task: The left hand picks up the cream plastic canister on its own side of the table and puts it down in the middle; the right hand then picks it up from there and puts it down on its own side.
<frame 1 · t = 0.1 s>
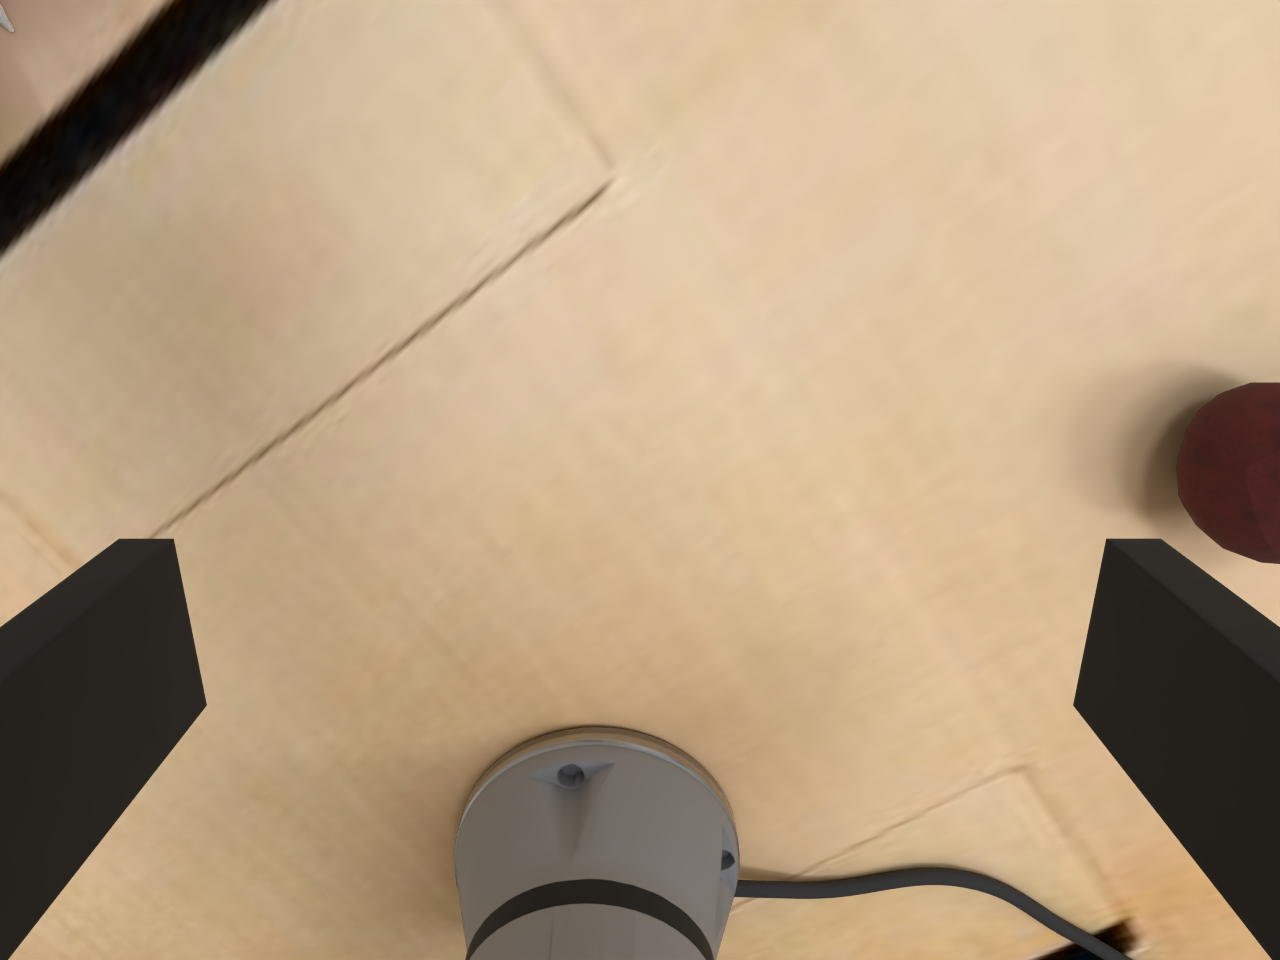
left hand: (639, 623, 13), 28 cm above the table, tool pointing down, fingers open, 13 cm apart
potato: (1221, 443, 41), on the table
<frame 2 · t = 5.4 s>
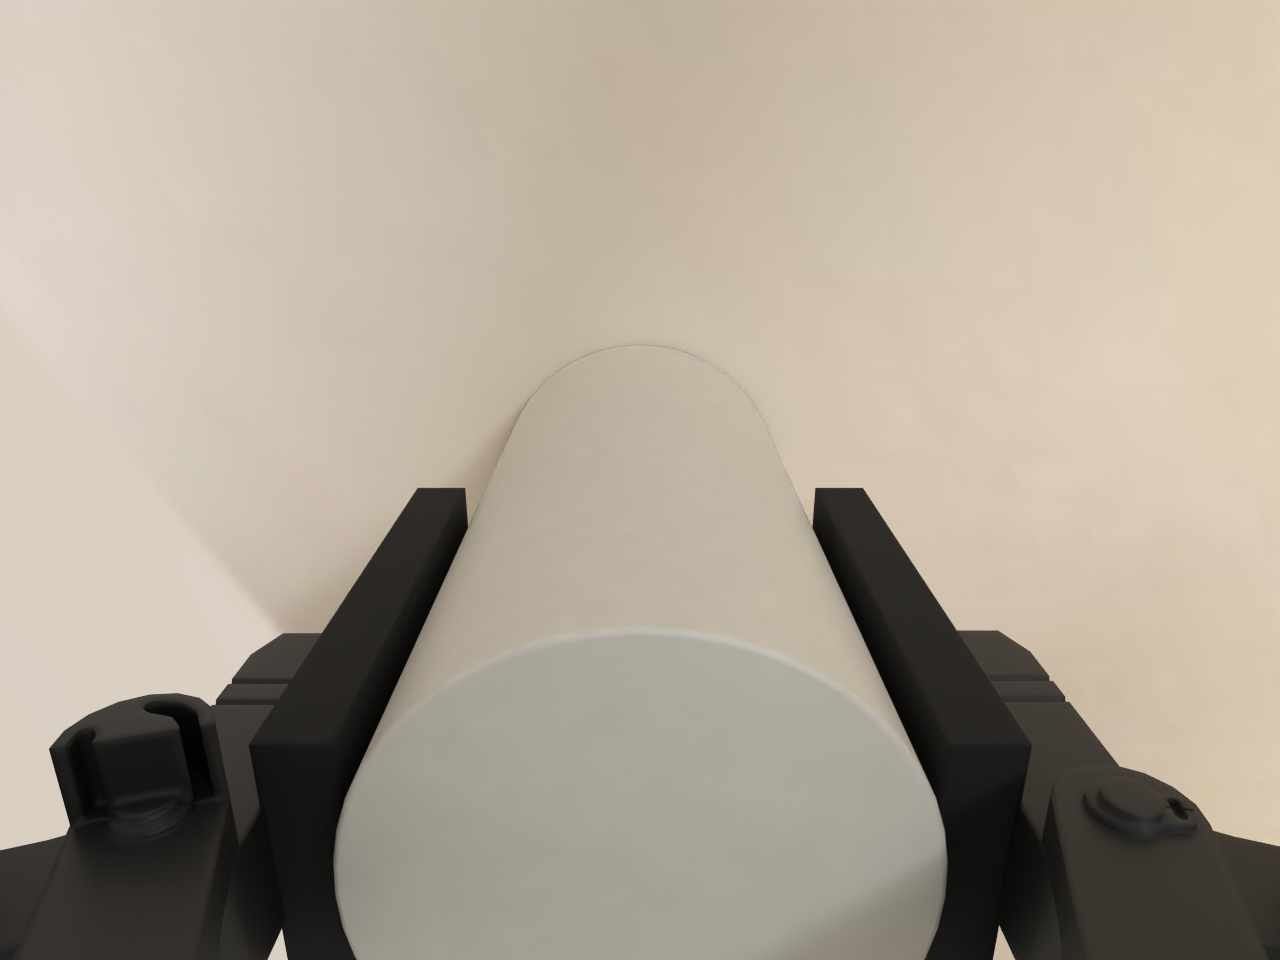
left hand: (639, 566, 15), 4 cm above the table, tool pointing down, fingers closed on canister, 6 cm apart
canister: (640, 477, 18), on the table, touching left hand
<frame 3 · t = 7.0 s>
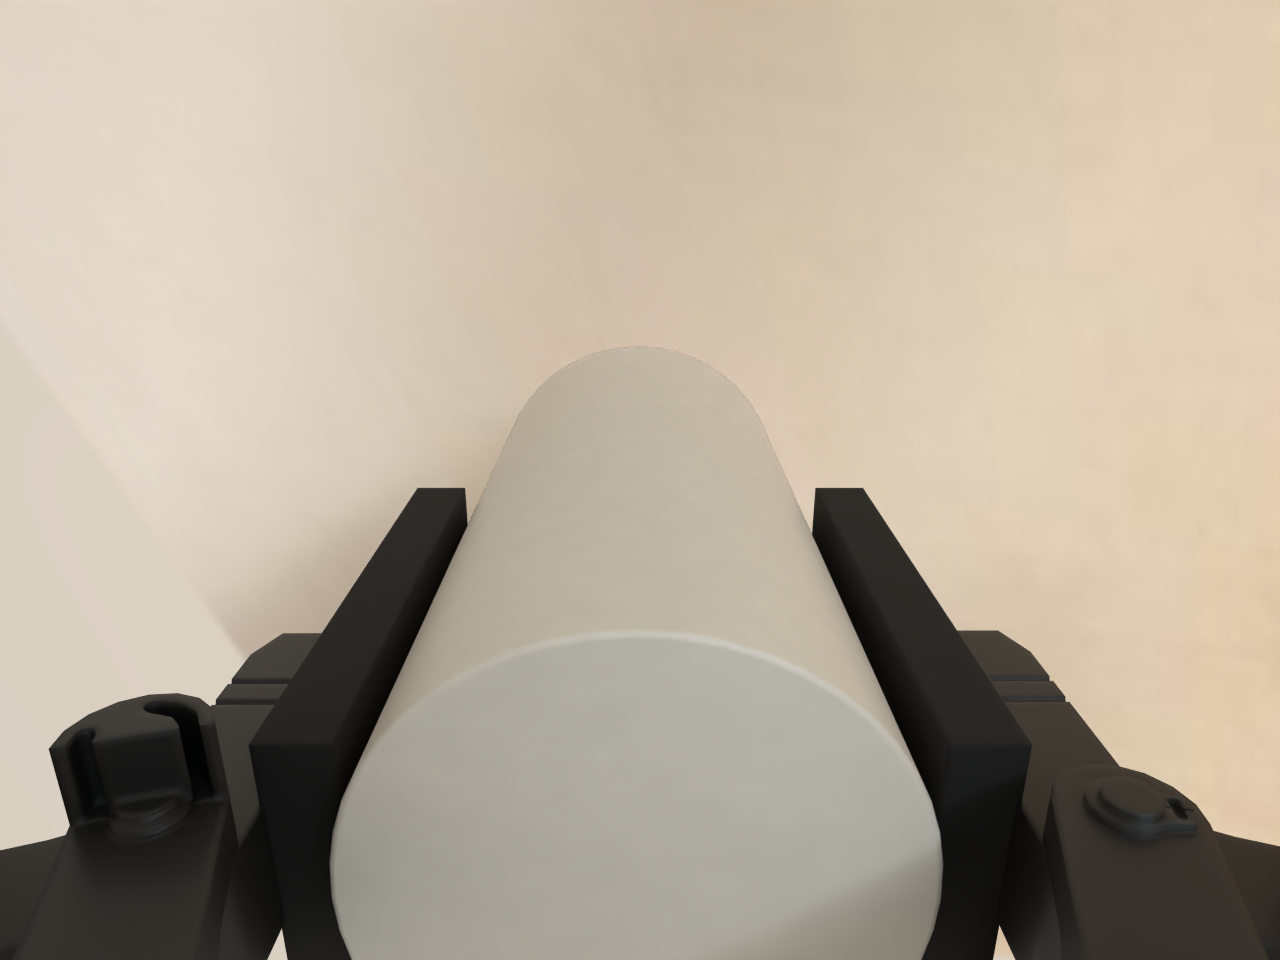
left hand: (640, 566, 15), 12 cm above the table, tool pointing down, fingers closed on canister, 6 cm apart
canister: (638, 478, 18), point 8 cm above the table, touching left hand
when the left hand's fingers open (6 cm above the table, at t = 8.8 s): canister drops 2 cm, on the table.
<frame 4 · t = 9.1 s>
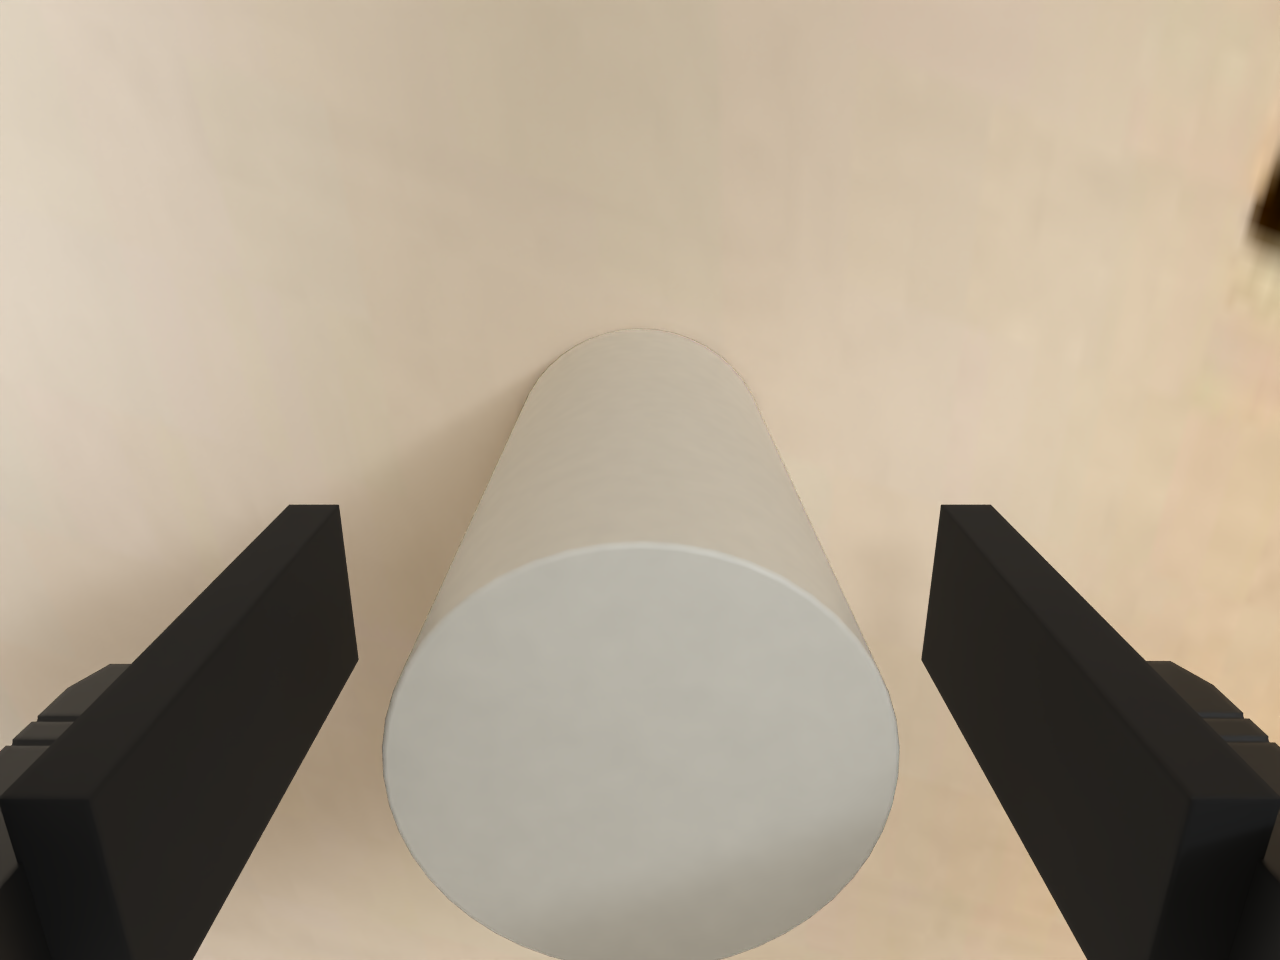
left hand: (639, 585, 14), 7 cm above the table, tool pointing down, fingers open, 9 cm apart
canister: (640, 451, 20), on the table
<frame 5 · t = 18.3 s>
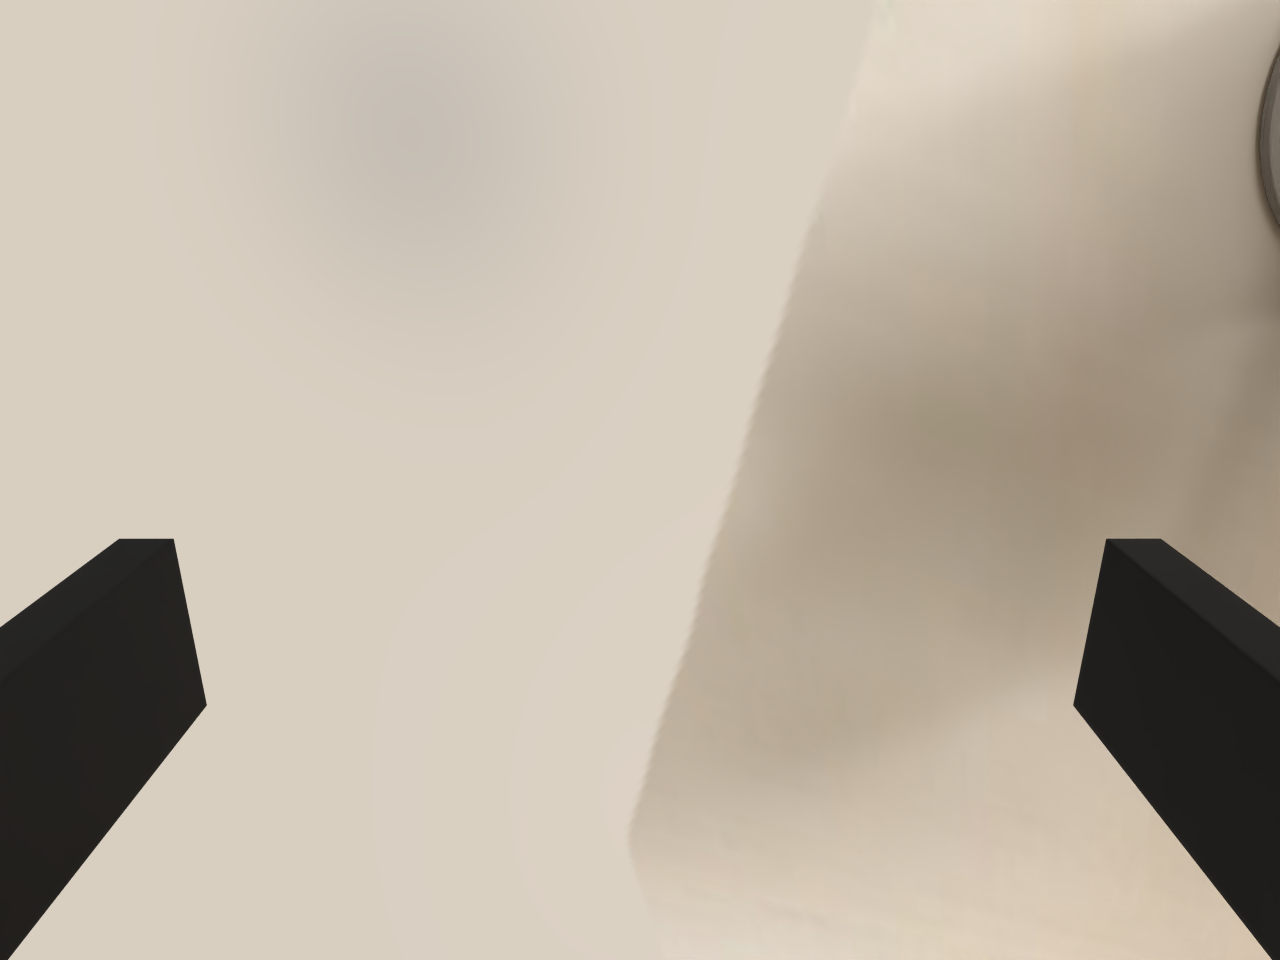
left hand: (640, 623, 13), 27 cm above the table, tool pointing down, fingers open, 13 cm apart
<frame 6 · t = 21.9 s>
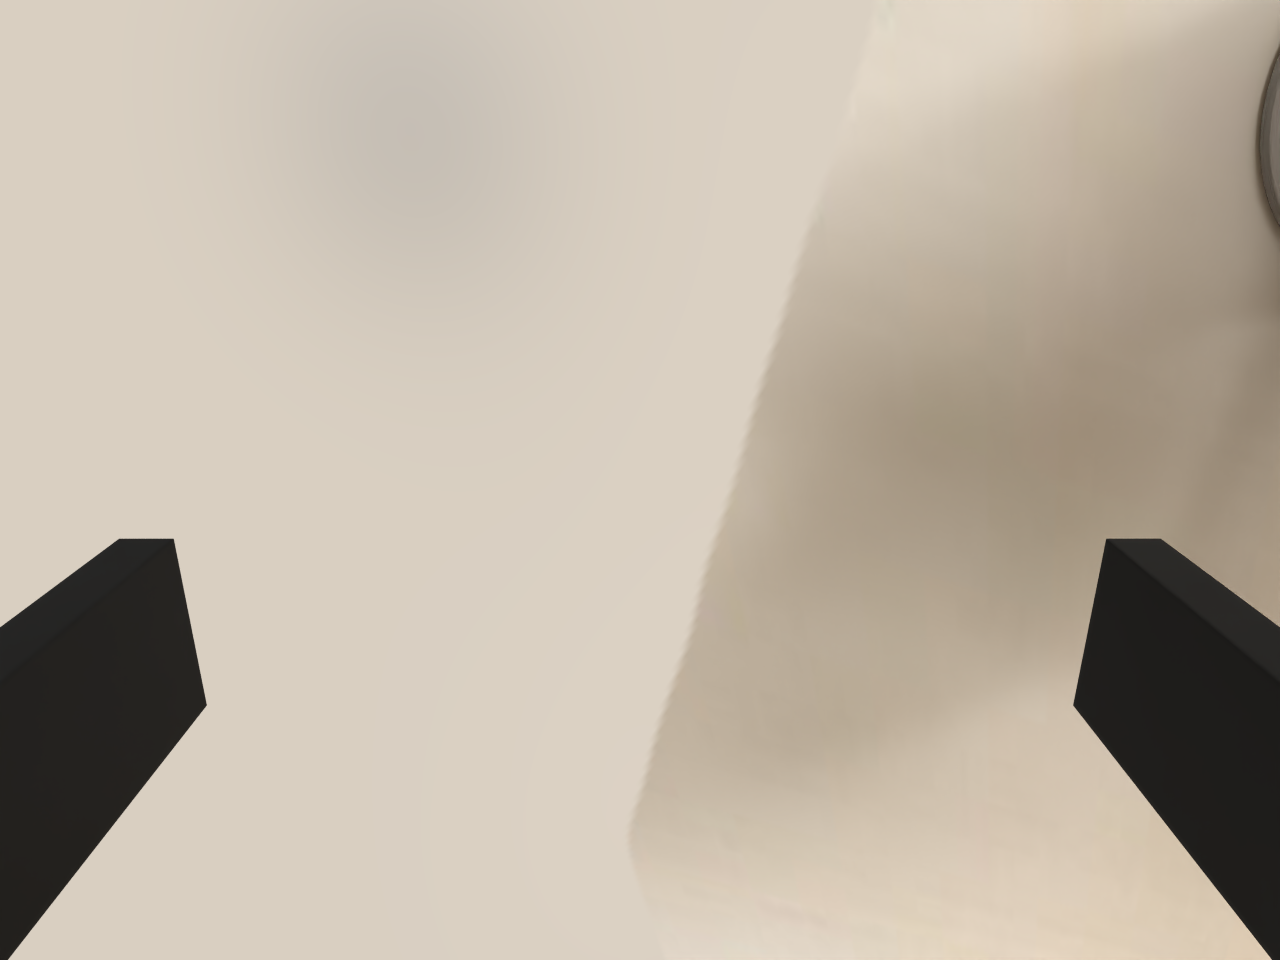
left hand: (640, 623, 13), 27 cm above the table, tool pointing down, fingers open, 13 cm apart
when the right hand's fingers open (6 cm above the table, at t = 25.7 s): canister drops 2 cm, on the table.
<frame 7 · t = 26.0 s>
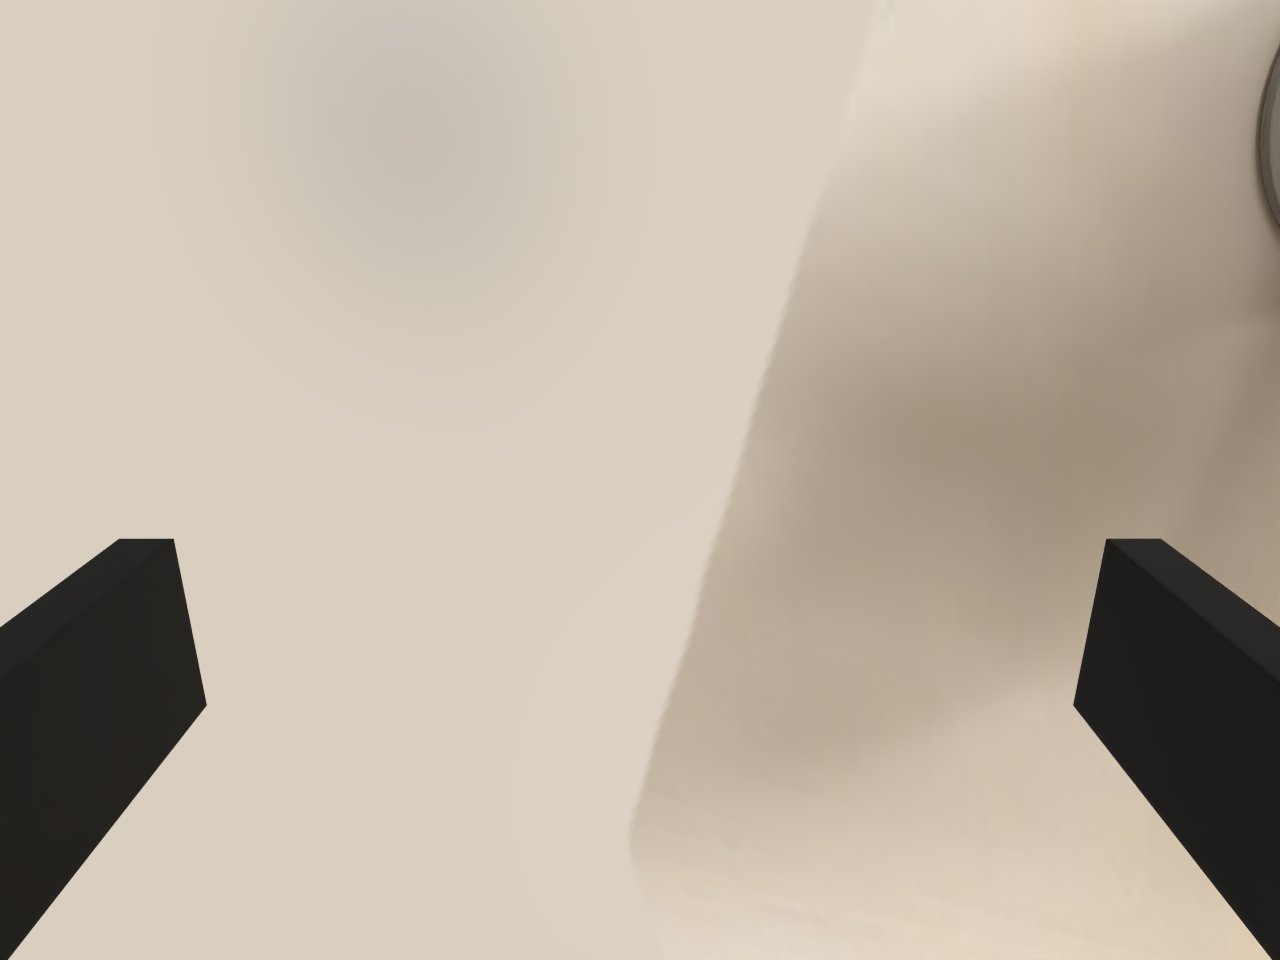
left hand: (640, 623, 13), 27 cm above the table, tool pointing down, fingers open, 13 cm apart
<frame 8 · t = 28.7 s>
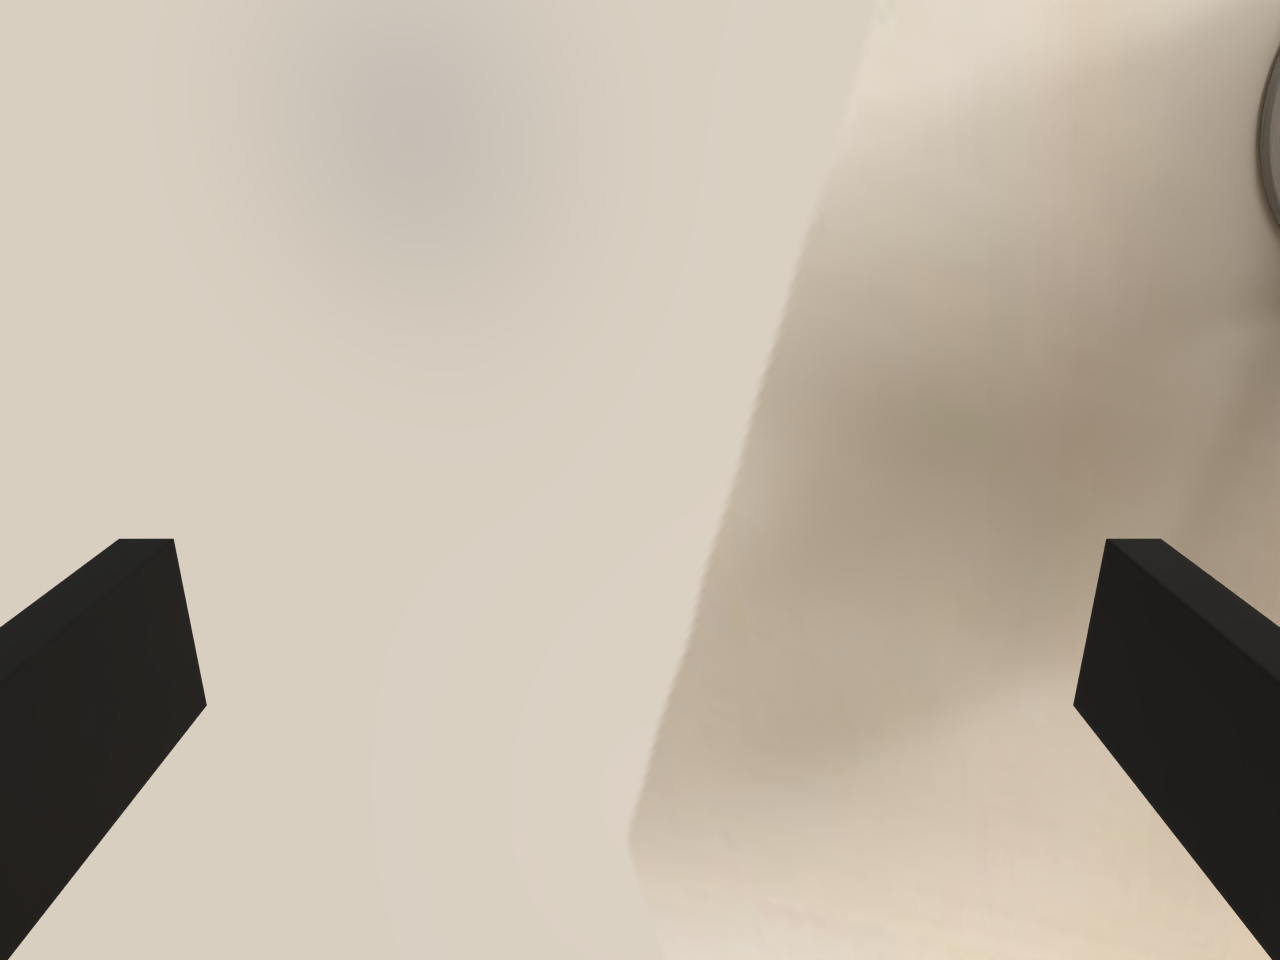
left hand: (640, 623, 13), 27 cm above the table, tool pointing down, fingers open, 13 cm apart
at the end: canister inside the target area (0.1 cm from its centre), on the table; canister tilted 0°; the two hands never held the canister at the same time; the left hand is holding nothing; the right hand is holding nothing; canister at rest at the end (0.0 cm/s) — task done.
